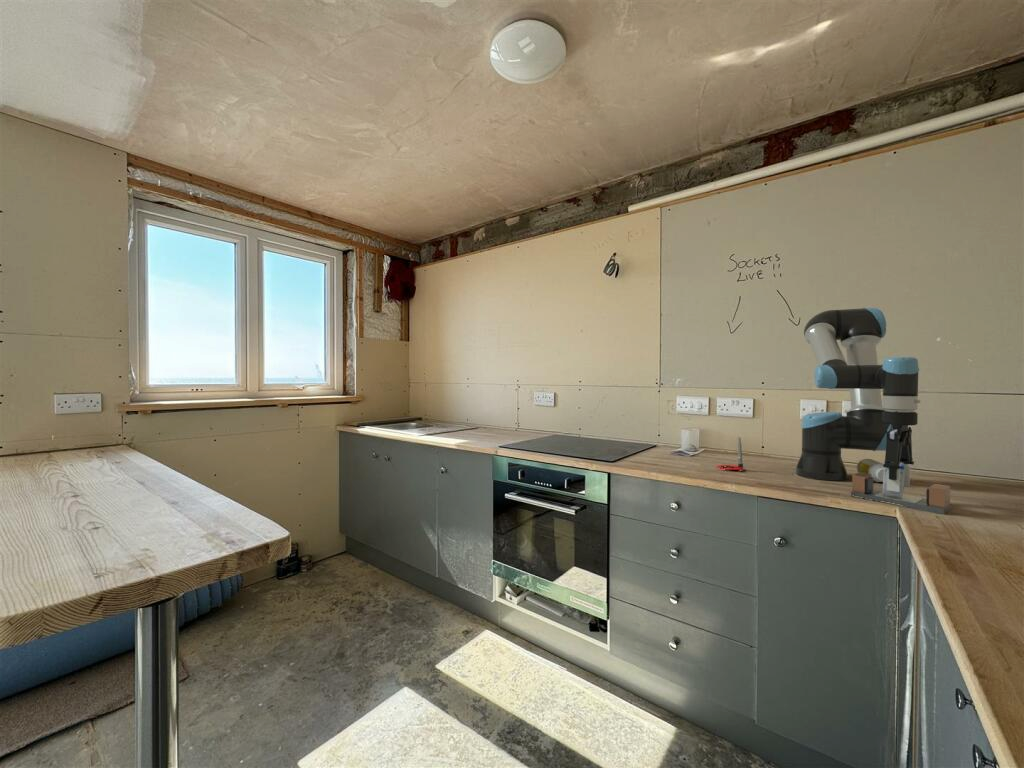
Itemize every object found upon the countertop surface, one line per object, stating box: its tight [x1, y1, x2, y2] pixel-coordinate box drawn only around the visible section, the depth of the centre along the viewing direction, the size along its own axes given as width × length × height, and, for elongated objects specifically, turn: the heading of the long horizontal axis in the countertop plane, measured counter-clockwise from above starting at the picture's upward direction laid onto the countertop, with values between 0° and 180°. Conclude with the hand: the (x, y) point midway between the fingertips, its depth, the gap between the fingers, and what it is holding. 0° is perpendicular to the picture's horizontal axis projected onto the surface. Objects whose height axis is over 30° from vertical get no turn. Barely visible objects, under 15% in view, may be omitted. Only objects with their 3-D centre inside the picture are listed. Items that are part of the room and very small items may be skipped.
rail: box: [850, 472, 952, 515], centre depth 122 cm, size 20×8×6 cm, turn 34°
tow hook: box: [716, 436, 744, 472], centre depth 166 cm, size 8×13×9 cm
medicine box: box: [882, 460, 905, 496], centre depth 123 cm, size 8×4×9 cm, turn 139°
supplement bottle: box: [856, 458, 884, 483], centre depth 147 cm, size 7×7×13 cm
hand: (898, 488), depth 122 cm, fingers closed on medicine box, 8 cm apart
